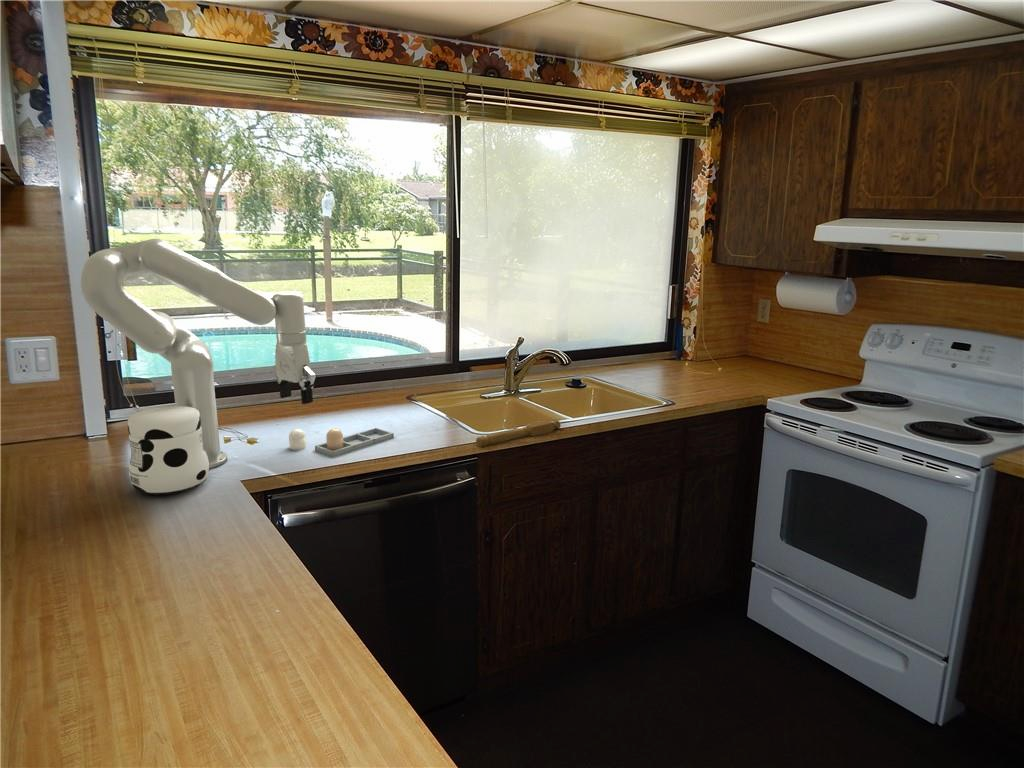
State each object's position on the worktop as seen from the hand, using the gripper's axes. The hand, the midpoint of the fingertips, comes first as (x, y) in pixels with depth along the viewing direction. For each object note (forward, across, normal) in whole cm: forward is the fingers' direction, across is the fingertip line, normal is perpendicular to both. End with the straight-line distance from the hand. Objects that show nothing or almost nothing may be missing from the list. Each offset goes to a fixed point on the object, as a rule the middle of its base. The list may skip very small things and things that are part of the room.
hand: (296, 400), depth 196 cm
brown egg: (+14, +10, +4) cm, 17 cm away
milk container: (+14, -1, -36) cm, 38 cm away
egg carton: (+15, +10, +11) cm, 21 cm away
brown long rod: (+16, +39, +49) cm, 65 cm away
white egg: (+14, 0, -1) cm, 14 cm away
